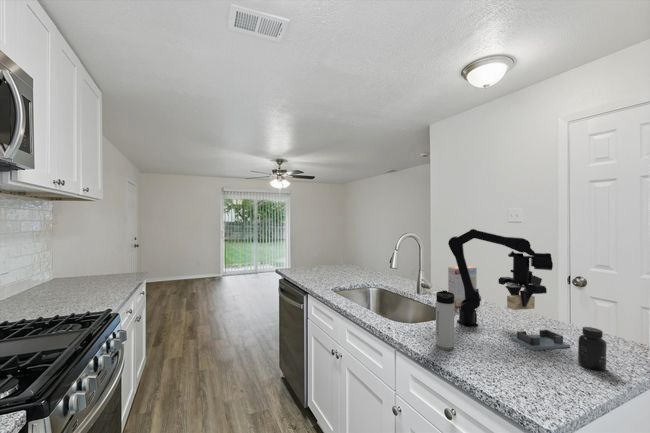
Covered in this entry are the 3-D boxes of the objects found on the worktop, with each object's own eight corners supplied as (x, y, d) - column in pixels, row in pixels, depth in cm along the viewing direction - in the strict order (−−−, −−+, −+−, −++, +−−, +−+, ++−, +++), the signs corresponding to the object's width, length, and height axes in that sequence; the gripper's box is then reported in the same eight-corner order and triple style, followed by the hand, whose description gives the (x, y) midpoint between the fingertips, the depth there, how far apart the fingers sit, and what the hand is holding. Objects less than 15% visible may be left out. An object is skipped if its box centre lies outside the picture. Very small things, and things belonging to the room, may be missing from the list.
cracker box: (468, 303, 167) (469, 265, 167) (477, 306, 161) (477, 267, 161) (447, 304, 163) (447, 266, 163) (455, 308, 157) (455, 268, 157)
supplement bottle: (608, 374, 92) (609, 335, 92) (580, 367, 96) (580, 330, 96) (603, 364, 98) (603, 328, 98) (576, 359, 102) (576, 323, 102)
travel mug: (453, 344, 112) (453, 291, 112) (454, 351, 106) (455, 295, 106) (435, 341, 114) (436, 289, 114) (435, 349, 108) (436, 293, 108)
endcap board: (533, 350, 108) (533, 340, 108) (511, 339, 118) (511, 330, 118) (570, 347, 111) (570, 337, 111) (545, 336, 121) (545, 327, 121)
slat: (513, 309, 123) (514, 297, 123) (507, 307, 126) (507, 295, 126) (534, 308, 125) (534, 296, 125) (527, 306, 128) (527, 294, 128)
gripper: (558, 271, 118) (558, 311, 118) (519, 264, 136) (518, 298, 136) (534, 272, 116) (534, 313, 116) (497, 264, 134) (497, 299, 134)
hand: (520, 305), depth 125 cm, fingers closed on slat, 3 cm apart
